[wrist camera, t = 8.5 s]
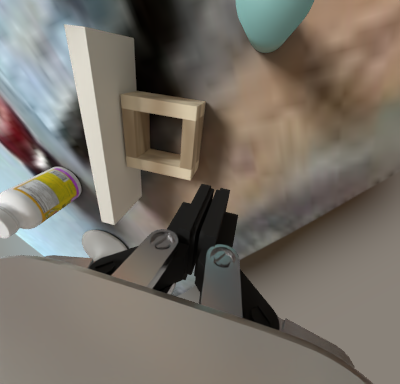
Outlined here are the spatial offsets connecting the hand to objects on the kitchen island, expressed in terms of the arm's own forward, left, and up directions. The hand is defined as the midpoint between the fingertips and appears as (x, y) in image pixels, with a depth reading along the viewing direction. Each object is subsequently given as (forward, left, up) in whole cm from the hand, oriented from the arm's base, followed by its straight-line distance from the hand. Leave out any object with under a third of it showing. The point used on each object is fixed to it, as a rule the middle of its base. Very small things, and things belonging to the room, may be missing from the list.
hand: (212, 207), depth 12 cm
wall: (+15, +2, -17) cm, 23 cm away
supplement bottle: (+29, +14, -17) cm, 37 cm away
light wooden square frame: (+9, +1, -17) cm, 19 cm away
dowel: (-1, -11, -17) cm, 20 cm away
